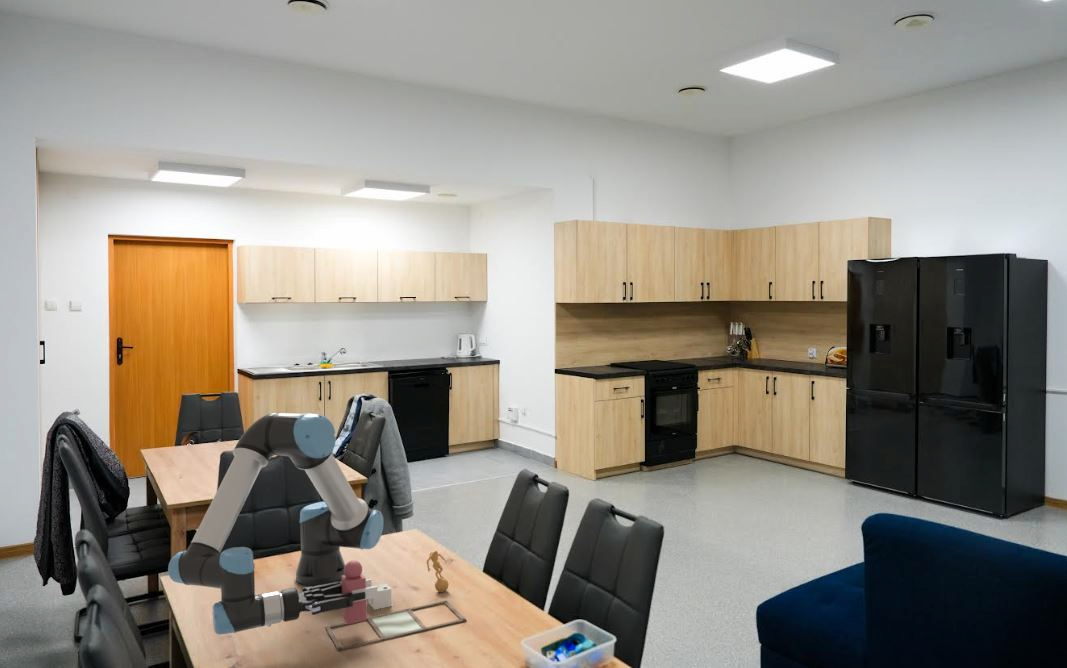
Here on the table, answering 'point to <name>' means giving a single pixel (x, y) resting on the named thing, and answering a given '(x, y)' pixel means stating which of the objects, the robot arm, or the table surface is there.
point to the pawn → (349, 583)
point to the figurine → (441, 583)
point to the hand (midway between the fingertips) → (373, 587)
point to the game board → (396, 625)
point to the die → (381, 597)
